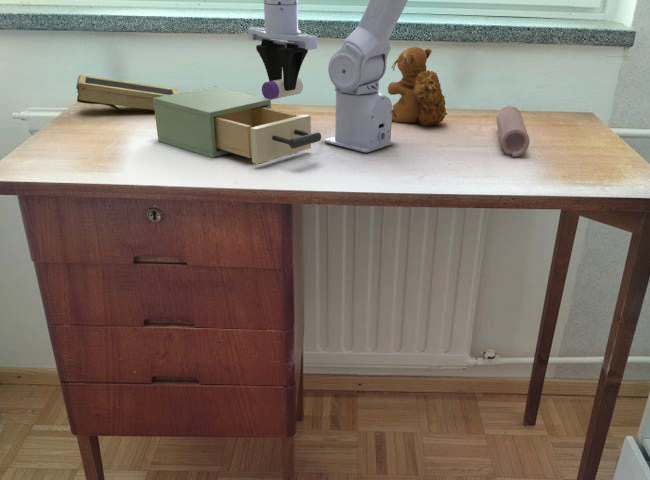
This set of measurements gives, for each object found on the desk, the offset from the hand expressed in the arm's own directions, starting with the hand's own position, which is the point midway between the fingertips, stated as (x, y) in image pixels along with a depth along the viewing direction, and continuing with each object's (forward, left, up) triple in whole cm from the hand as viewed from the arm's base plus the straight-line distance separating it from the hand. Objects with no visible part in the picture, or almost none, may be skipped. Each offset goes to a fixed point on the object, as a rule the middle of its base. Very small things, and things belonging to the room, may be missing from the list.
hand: (283, 88), depth 123 cm
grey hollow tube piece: (-35, -22, -8) cm, 42 cm away
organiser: (+3, +14, -7) cm, 16 cm away
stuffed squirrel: (-14, -23, -8) cm, 28 cm away
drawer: (-10, +14, -6) cm, 18 cm away
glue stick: (0, 0, -1) cm, 1 cm away
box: (+30, +10, -8) cm, 32 cm away
